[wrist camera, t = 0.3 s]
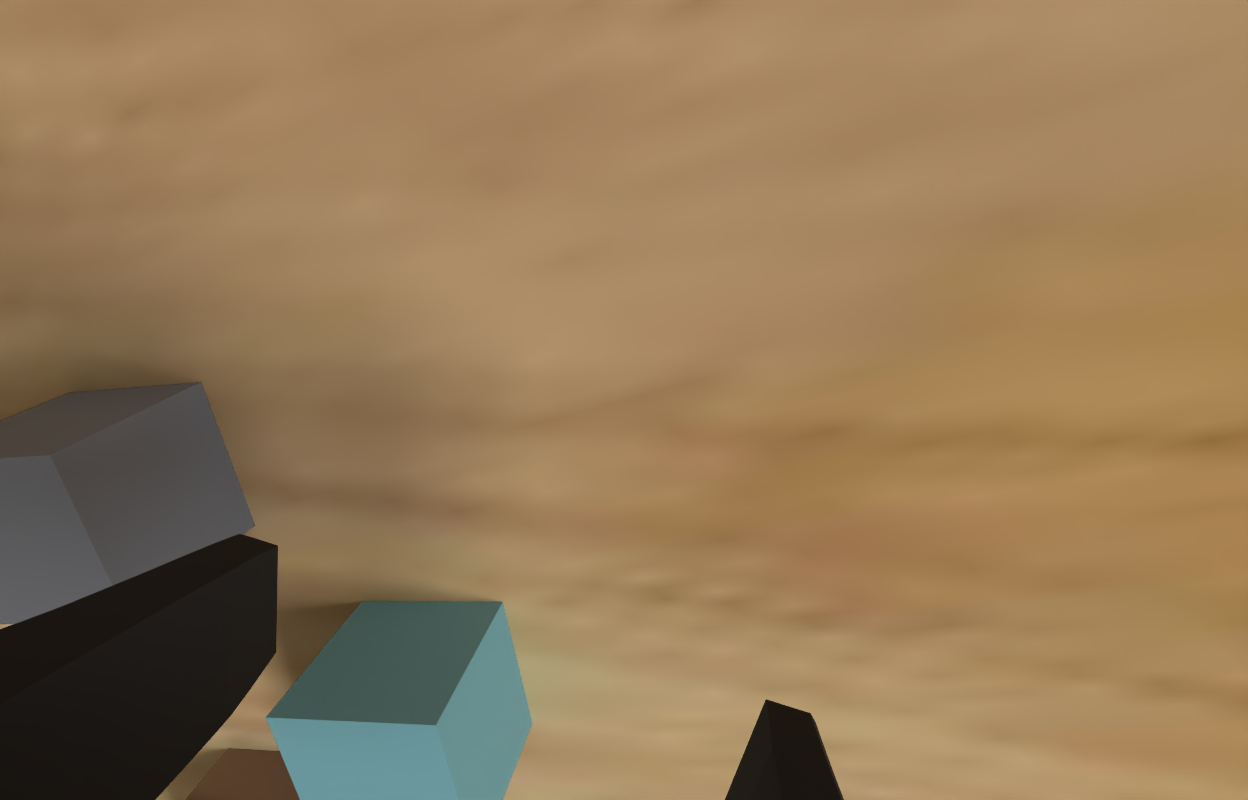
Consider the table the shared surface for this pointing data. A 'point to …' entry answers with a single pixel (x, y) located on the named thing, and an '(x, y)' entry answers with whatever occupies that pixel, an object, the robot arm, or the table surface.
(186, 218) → the table surface
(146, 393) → the charcoal block
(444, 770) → the teal block
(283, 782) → the walnut block
